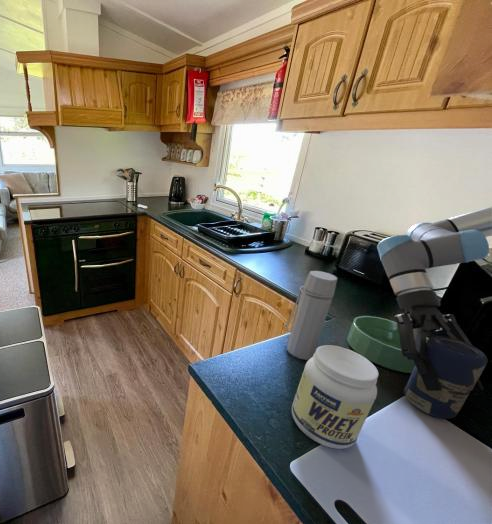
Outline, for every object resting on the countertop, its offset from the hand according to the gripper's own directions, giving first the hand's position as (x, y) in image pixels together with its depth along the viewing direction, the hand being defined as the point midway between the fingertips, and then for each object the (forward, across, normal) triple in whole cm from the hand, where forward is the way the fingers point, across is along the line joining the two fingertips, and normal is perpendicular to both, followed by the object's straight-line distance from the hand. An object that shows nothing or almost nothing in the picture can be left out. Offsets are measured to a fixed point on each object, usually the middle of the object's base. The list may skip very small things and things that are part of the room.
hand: (455, 390), depth 64 cm
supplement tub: (+7, +30, -5) cm, 32 cm away
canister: (+3, 0, -8) cm, 9 cm away
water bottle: (-11, +21, -22) cm, 32 cm away
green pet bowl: (-11, -7, -22) cm, 25 cm away
